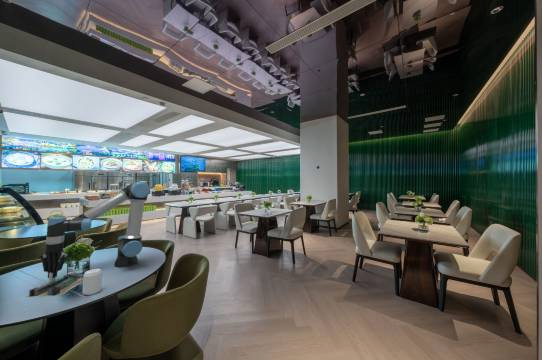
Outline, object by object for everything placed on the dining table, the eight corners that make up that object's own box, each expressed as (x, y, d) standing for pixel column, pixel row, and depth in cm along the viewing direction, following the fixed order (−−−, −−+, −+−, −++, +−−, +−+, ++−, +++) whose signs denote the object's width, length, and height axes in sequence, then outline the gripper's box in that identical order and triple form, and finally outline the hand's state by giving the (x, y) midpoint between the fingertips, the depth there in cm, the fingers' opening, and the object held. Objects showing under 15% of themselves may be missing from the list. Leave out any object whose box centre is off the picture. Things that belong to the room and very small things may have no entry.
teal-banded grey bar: (82, 278, 130) (83, 273, 131) (55, 295, 110) (55, 289, 111) (70, 279, 129) (71, 274, 129) (40, 296, 109) (41, 290, 109)
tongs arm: (76, 278, 130) (76, 272, 130) (40, 295, 109) (40, 288, 109) (67, 278, 130) (67, 272, 130) (29, 295, 109) (29, 288, 109)
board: (88, 279, 132) (88, 277, 132) (61, 296, 111) (62, 294, 111) (58, 281, 129) (58, 279, 129) (24, 299, 108) (25, 297, 108)
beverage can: (90, 289, 120) (91, 268, 120) (104, 288, 121) (105, 268, 121) (78, 296, 112) (79, 274, 112) (93, 295, 112) (94, 273, 113)
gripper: (72, 241, 126) (69, 280, 125) (48, 241, 124) (44, 281, 123) (62, 244, 119) (59, 285, 117) (36, 244, 117) (32, 286, 115)
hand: (51, 283), depth 120 cm, fingers closed
